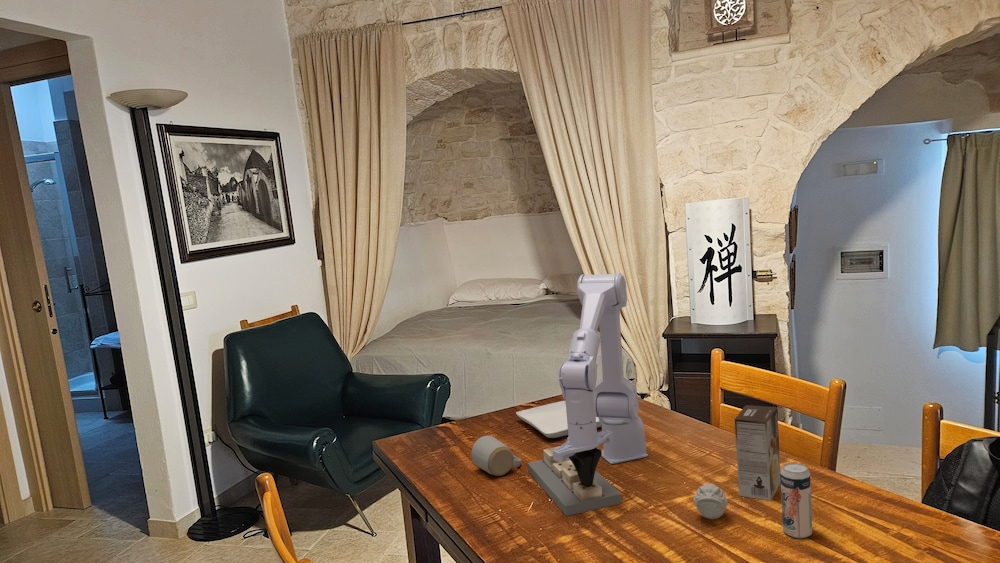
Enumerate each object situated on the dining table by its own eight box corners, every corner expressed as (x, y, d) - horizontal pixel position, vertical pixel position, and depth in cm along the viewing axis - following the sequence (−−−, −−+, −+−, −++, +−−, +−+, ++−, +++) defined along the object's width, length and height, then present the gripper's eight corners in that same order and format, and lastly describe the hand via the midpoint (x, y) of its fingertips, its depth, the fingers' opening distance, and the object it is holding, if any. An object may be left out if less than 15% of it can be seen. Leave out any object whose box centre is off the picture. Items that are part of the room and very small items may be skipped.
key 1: (562, 459, 157) (561, 445, 157) (569, 466, 153) (568, 452, 152) (544, 463, 156) (543, 449, 155) (550, 470, 152) (549, 455, 151)
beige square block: (593, 493, 140) (592, 478, 139) (602, 502, 136) (601, 486, 135) (574, 498, 139) (572, 482, 138) (582, 507, 135) (581, 491, 134)
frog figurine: (693, 526, 124) (690, 490, 124) (696, 508, 131) (693, 474, 130) (728, 528, 122) (726, 492, 121) (729, 510, 129) (727, 475, 128)
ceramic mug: (490, 481, 152) (487, 448, 151) (472, 471, 159) (469, 439, 158) (529, 468, 158) (526, 437, 157) (509, 459, 165) (507, 428, 164)
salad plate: (547, 445, 171) (546, 432, 171) (515, 422, 191) (514, 410, 191) (620, 428, 179) (619, 415, 178) (582, 407, 198) (581, 396, 198)
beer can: (777, 528, 121) (774, 464, 119) (803, 524, 121) (800, 460, 120) (791, 541, 116) (788, 475, 115) (818, 538, 116) (815, 471, 115)
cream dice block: (572, 473, 151) (571, 459, 151) (579, 481, 147) (578, 466, 147) (553, 477, 150) (552, 463, 150) (560, 485, 146) (559, 470, 146)
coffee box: (749, 477, 142) (745, 403, 140) (781, 482, 138) (778, 406, 136) (738, 496, 134) (733, 418, 132) (772, 501, 131) (768, 421, 129)
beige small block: (582, 478, 146) (581, 464, 145) (590, 486, 141) (589, 471, 141) (563, 483, 144) (561, 468, 144) (570, 491, 140) (569, 475, 140)
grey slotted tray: (576, 461, 159) (576, 452, 159) (622, 503, 136) (621, 493, 136) (528, 471, 156) (527, 462, 156) (566, 516, 133) (565, 506, 133)
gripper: (594, 406, 142) (599, 468, 144) (540, 425, 134) (546, 490, 136) (618, 413, 137) (623, 477, 138) (564, 433, 128) (569, 501, 130)
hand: (586, 484), depth 137 cm, fingers closed, pressing on beige square block
